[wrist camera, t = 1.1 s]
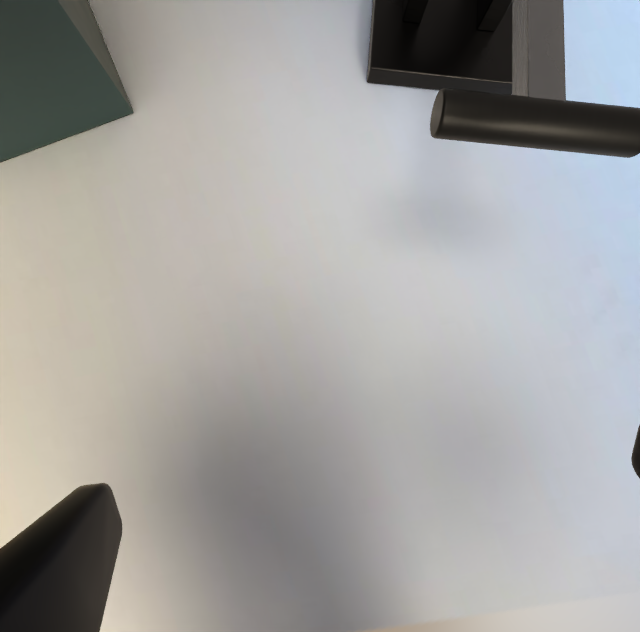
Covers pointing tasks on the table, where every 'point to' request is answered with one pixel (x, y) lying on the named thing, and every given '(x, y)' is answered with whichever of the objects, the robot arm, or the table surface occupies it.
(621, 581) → the table surface
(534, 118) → the lever
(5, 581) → the robot arm
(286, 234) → the table surface
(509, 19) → the bracket
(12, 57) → the toaster
